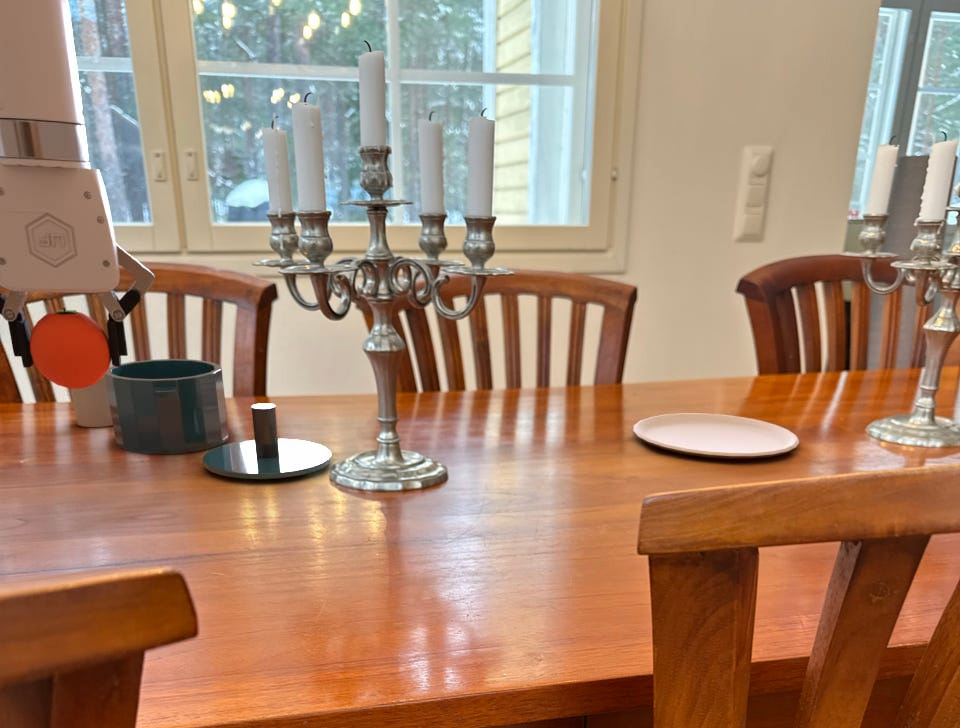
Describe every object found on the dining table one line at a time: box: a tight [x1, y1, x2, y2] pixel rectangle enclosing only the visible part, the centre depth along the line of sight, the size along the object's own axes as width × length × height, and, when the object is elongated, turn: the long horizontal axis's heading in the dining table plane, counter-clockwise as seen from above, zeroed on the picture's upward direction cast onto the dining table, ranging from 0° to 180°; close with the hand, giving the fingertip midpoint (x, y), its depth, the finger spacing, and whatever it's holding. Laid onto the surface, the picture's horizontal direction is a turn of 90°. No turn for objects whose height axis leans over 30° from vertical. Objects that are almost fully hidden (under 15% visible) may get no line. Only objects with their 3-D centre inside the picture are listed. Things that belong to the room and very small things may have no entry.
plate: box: [632, 412, 800, 460], centre depth 115 cm, size 21×21×1 cm
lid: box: [202, 403, 332, 480], centre depth 100 cm, size 14×14×7 cm
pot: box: [105, 358, 230, 455], centre depth 108 cm, size 13×19×8 cm
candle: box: [70, 360, 114, 428], centre depth 115 cm, size 6×6×10 cm
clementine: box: [29, 307, 111, 390], centre depth 83 cm, size 8×7×7 cm
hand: (73, 362), depth 84 cm, fingers closed on clementine, 7 cm apart
